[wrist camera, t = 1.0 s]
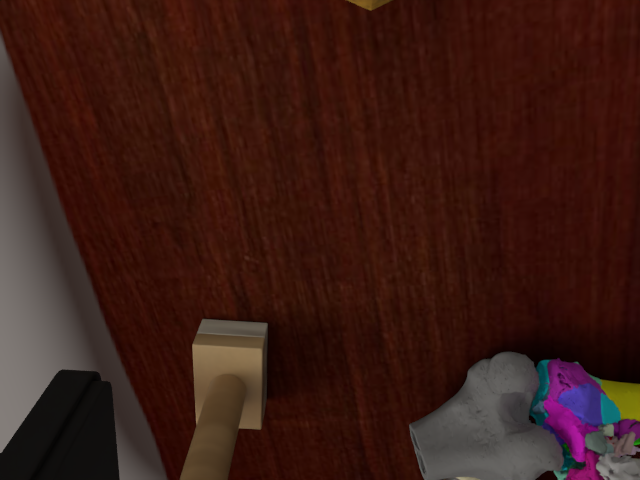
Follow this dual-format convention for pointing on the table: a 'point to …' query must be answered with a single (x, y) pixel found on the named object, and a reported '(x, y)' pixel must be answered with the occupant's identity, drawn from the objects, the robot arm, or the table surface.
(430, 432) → the knee model
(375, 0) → the potato
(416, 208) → the table surface
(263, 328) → the wooden stamp
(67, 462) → the robot arm
